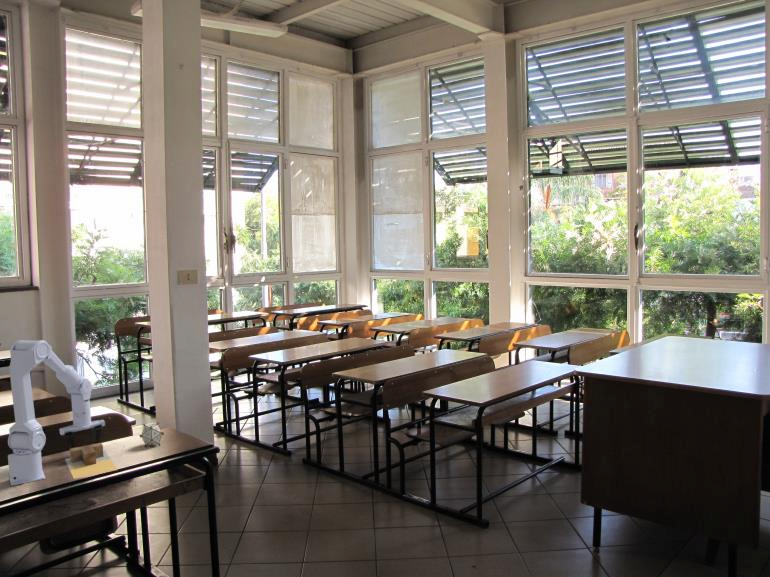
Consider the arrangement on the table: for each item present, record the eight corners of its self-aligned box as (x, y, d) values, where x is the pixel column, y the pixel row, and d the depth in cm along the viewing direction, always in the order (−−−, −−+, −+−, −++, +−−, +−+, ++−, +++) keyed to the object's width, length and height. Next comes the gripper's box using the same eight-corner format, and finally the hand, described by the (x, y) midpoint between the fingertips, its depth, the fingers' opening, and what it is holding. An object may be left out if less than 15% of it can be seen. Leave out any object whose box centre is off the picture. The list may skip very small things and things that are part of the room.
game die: (155, 456, 237) (153, 439, 231) (135, 448, 238) (132, 431, 232) (169, 438, 244) (168, 421, 237) (150, 430, 245) (148, 413, 239)
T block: (74, 468, 216) (73, 456, 216) (70, 460, 225) (69, 448, 224) (106, 461, 221) (105, 450, 221) (101, 453, 230) (101, 442, 230)
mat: (73, 479, 206) (73, 478, 206) (64, 459, 226) (64, 458, 226) (117, 470, 213) (117, 469, 213) (105, 451, 233) (105, 450, 233)
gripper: (62, 418, 222) (65, 457, 223) (106, 409, 231) (109, 447, 232) (56, 415, 227) (59, 453, 228) (99, 406, 237) (102, 443, 238)
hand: (84, 450), depth 231 cm, fingers open, 7 cm apart
